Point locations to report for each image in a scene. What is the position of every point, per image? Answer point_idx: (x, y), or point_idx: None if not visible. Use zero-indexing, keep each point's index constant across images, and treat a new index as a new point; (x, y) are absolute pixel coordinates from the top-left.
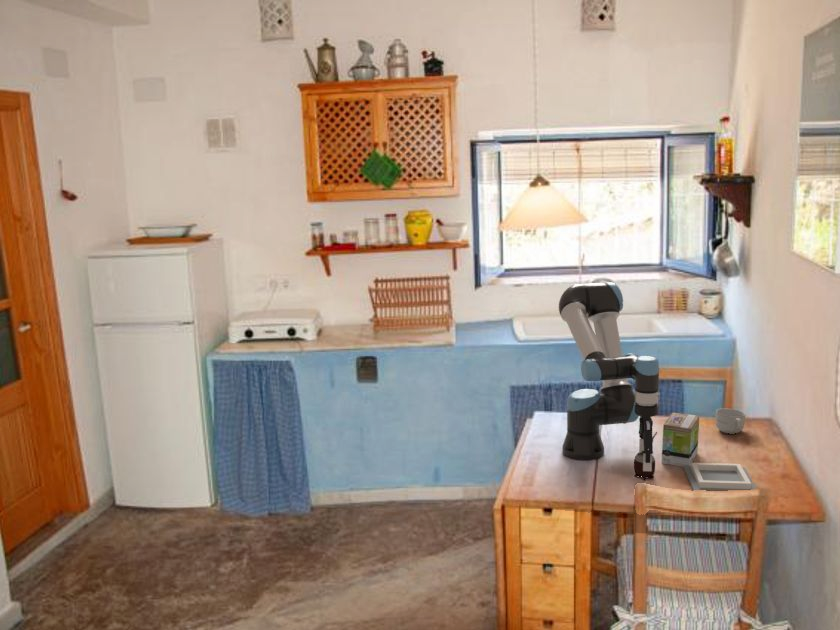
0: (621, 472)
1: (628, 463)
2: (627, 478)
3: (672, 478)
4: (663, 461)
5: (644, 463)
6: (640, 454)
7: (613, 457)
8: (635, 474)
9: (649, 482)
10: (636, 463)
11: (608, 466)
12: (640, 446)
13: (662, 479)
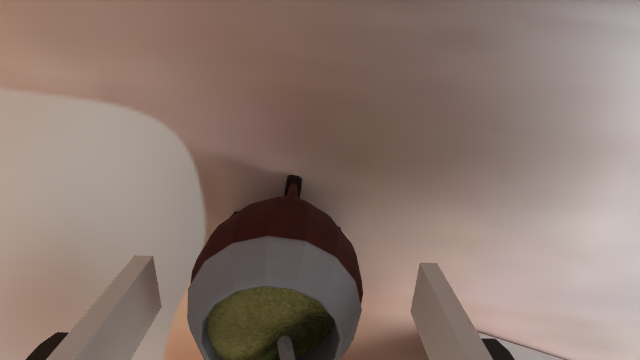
0: (357, 98)
1: (501, 163)
2: (258, 126)
3: None
4: None
5: (97, 311)
6: (320, 304)
7: (630, 73)
8: (291, 184)
9: None
10: (223, 233)
11: (473, 11)
12: (455, 344)
13: None
